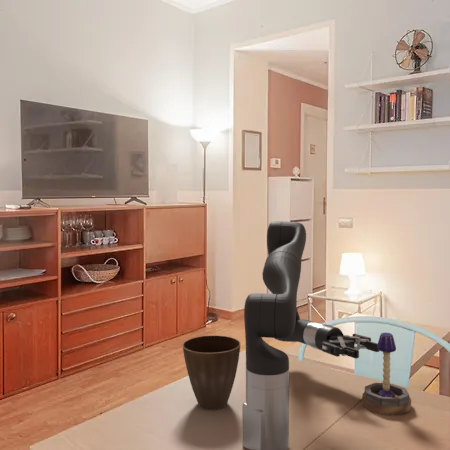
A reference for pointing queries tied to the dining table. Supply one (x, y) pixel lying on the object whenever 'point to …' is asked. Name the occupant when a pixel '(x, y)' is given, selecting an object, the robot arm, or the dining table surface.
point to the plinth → (386, 408)
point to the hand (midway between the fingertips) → (368, 351)
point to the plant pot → (212, 368)
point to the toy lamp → (386, 361)
